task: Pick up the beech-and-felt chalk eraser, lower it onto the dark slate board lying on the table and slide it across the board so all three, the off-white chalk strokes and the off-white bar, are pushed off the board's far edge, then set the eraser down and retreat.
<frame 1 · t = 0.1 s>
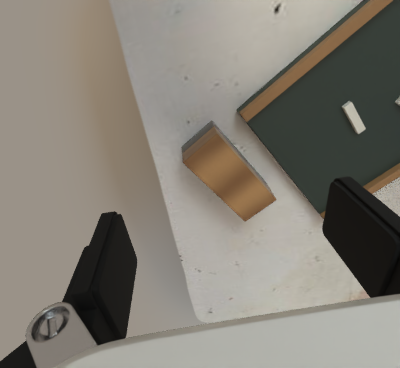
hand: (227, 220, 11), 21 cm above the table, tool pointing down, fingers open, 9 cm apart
chalk stroke 1: (352, 117, 31), point 1 cm above the table, touching slate board
eraser: (225, 165, 34), on the table
slate board: (364, 109, 32), on the table
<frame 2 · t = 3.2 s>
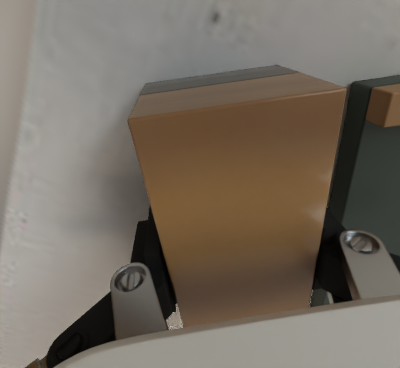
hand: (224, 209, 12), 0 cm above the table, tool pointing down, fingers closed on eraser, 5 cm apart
eraser: (223, 203, 13), on the table, touching gripper
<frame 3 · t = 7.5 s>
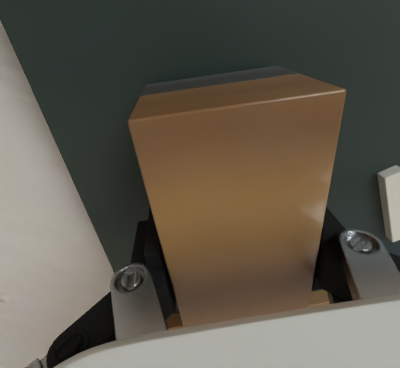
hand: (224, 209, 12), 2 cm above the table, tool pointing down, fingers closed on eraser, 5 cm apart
chalk stroke 2: (390, 203, 14), point 1 cm above the table, touching slate board
eraser: (222, 204, 13), point 2 cm above the table, touching gripper
slate board: (315, 156, 13), on the table
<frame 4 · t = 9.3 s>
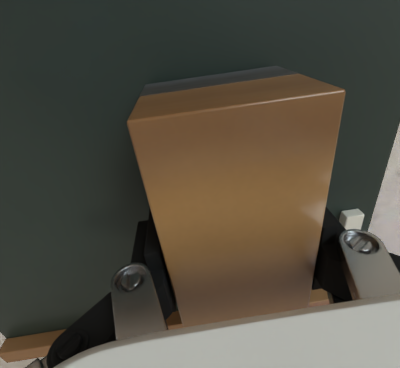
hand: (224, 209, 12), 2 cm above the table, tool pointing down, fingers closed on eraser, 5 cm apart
off-white bar 3: (343, 233, 15), point 1 cm above the table, touching slate board
eraser: (222, 204, 13), point 2 cm above the table, touching chalk stroke 1, gripper
slate board: (149, 178, 13), on the table
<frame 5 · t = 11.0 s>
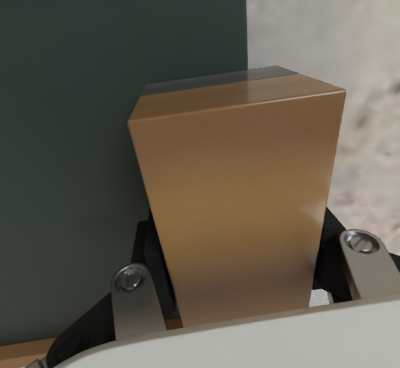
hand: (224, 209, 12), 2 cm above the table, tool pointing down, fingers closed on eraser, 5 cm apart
eraser: (223, 204, 13), point 1 cm above the table, touching gripper
slate board: (13, 206, 13), on the table
when the fingers open (1 cm above the table, at t = 13.6 s): eraser stays where it is, on the table.
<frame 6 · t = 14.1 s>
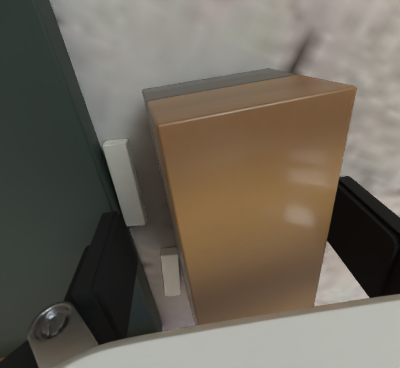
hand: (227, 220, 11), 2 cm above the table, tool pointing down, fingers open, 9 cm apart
off-white bar 3: (171, 277, 15), point 1 cm above the table, tilted 180°
chalk stroke 1: (127, 182, 12), on the table
eraser: (219, 206, 13), on the table, tilted 10°
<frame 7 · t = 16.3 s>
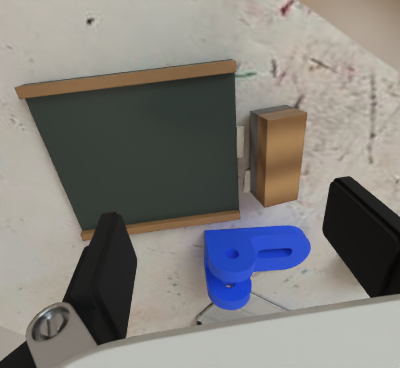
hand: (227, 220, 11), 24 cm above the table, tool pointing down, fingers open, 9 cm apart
off-white bar 3: (247, 182, 38), point 1 cm above the table, tilted 180°
laptop: (245, 314, 55), on the table
chalk stroke 1: (239, 141, 35), on the table
eraser: (266, 151, 35), on the table, tilted 10°, touching chalk stroke 2
bracket: (254, 244, 45), on the table
slate board: (148, 158, 35), on the table
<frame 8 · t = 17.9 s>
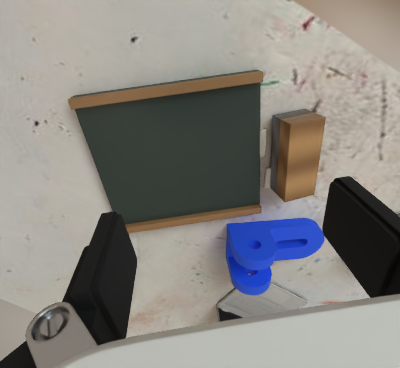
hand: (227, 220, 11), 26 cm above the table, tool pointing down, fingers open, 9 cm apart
off-white bar 3: (268, 179, 41), point 1 cm above the table, tilted 180°
laptop: (261, 300, 59), on the table
chalk stroke 1: (261, 142, 39), on the table
eraser: (286, 150, 39), on the table, tilted 9°, touching chalk stroke 2
bracket: (272, 236, 49), on the table
slate board: (179, 159, 39), on the table
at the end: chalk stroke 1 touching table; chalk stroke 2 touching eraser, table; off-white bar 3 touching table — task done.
